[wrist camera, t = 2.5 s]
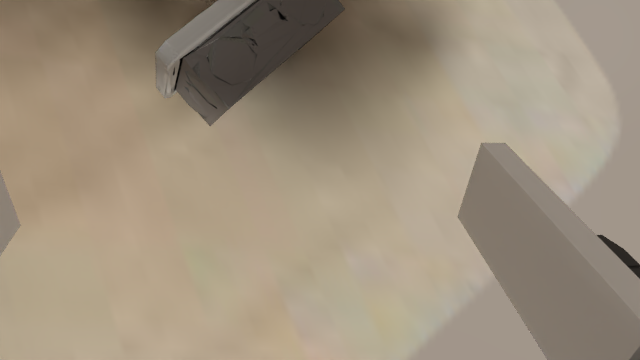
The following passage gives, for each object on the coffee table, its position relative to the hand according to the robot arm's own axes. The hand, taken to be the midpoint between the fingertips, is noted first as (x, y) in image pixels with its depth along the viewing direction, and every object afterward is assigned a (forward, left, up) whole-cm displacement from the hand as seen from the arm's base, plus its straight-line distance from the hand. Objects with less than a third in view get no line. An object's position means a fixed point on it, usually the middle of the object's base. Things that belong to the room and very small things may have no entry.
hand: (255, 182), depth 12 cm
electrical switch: (0, +10, -14) cm, 17 cm away
